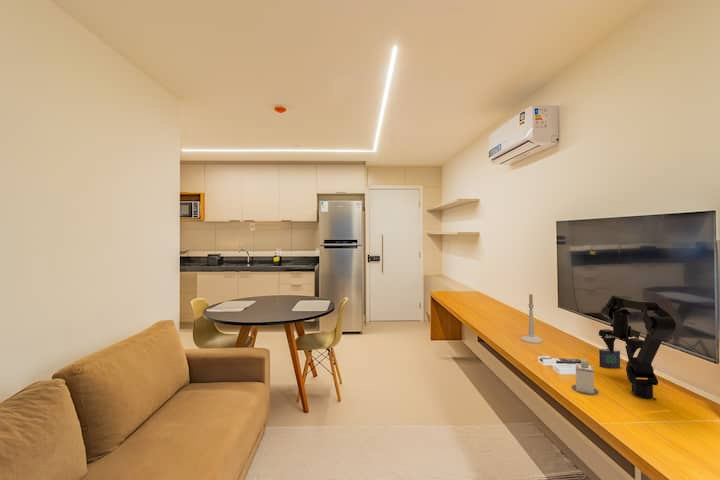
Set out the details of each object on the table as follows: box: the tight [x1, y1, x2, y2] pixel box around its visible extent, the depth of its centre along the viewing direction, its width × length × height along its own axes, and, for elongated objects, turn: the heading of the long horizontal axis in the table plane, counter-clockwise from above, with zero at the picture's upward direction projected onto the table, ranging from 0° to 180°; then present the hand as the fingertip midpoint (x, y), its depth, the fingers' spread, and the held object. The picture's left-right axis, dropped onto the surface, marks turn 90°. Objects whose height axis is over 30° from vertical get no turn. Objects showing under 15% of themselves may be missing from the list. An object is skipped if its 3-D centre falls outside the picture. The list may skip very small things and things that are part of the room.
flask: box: [598, 347, 621, 369], centre depth 175 cm, size 9×3×11 cm, turn 78°
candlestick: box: [520, 294, 544, 345], centre depth 220 cm, size 13×13×30 cm
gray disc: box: [570, 384, 600, 396], centre depth 150 cm, size 10×10×1 cm
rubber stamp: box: [575, 358, 595, 394], centre depth 150 cm, size 6×6×13 cm
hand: (620, 356), depth 158 cm, fingers open, 9 cm apart
